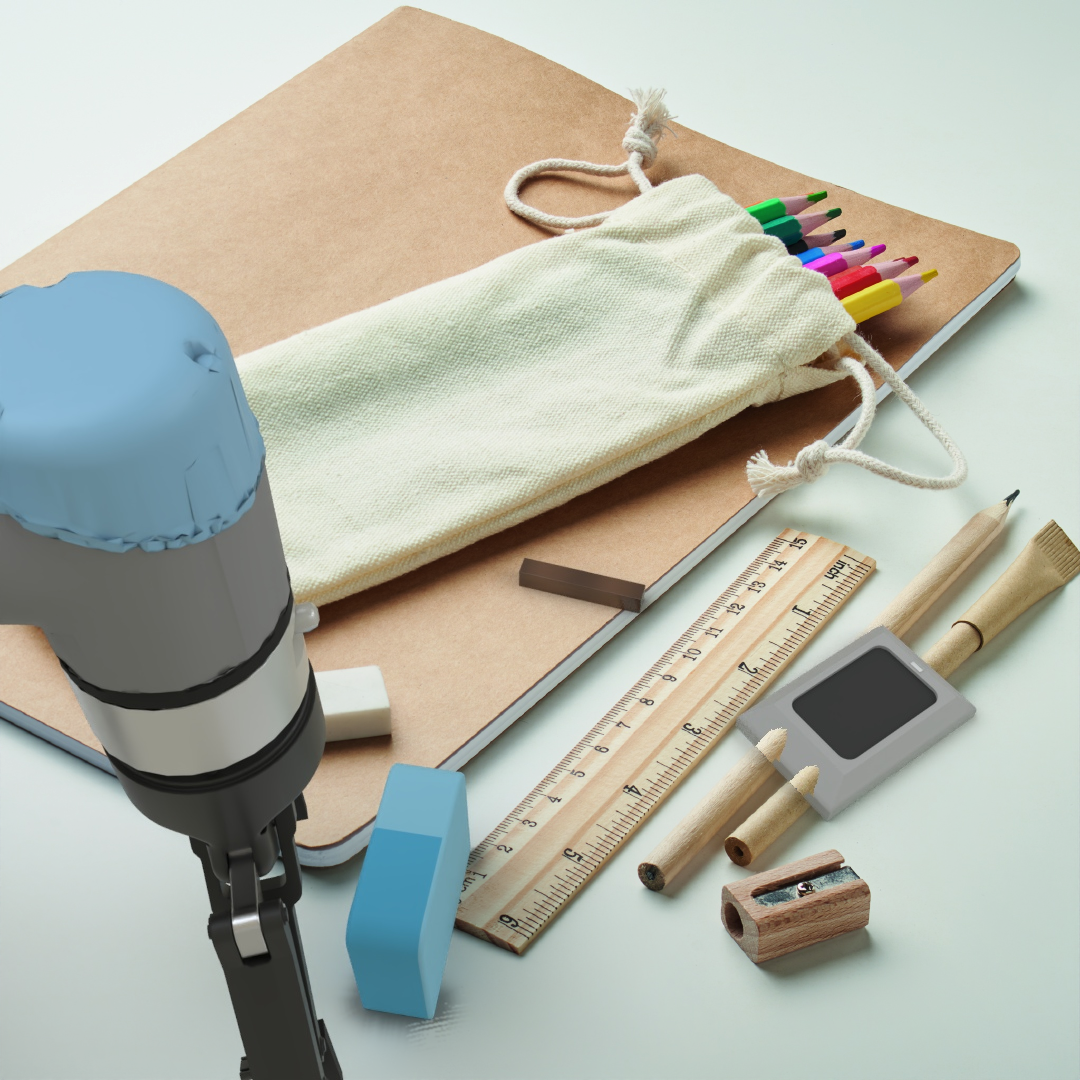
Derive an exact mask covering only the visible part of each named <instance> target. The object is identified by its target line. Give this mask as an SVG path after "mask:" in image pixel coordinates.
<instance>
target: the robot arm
mask: <svg viewBox="0 0 1080 1080" xmlns="http://www.w3.org/2000/svg"><path fill="white" fill-rule="evenodd" d="M235 361H236V360H235V359H234V356H233V352H232V349H231V347H230V344H229V341H228V339H227V337H226V335H225V333H224V332H223V330H222V328H221V326H220V325H219V322H218V321H217V319H216V318H215V317H214V316H213V315H212V313H211V312H210V311H208V310H207V309H206V308H205V307H204V306H203V305H202V304H201V303H200V302H198V301H197V300H196V299H195V298H193V296H191V295H189V293H186V292H185V291H183V290H182V289H180V288H179V287H176V286H174V285H172V284H169V283H167V282H165V281H163V280H160V279H157V278H154V277H151V276H147V275H144V274H140V273H133V272H128V271H121V270H98V269H97V270H83V271H82V270H79V271H73V272H69V273H67V274H66V275H65V276H64V277H63V278H62V279H61V280H59V281H58V282H57V283H54V284H51V285H47V286H44V287H41V286H35V285H30V284H21V285H19V286H16V287H13V288H10V289H8V290H6V291H4V292H2V293H0V626H34V627H36V628H37V627H38V628H40V629H41V630H42V632H43V634H44V636H45V638H46V640H47V642H48V643H49V645H50V647H51V649H52V651H53V653H54V655H55V656H56V657H57V659H58V662H59V665H60V667H61V669H62V671H63V673H64V675H65V677H66V680H67V682H68V684H69V686H70V688H71V690H72V693H73V694H74V696H75V698H76V701H77V703H78V704H79V706H80V709H81V711H82V713H83V716H84V717H85V719H86V721H87V723H88V725H89V727H90V730H91V731H92V734H93V735H94V736H95V737H96V739H97V740H98V742H99V743H100V744H101V746H102V749H103V751H104V753H105V755H106V757H107V759H108V762H109V763H110V765H111V767H112V769H113V771H114V773H115V775H116V777H117V779H118V781H119V782H120V785H121V787H122V789H123V791H124V793H125V795H126V797H127V798H128V800H129V801H130V803H131V804H132V805H133V806H134V807H135V808H136V809H137V810H138V812H139V813H141V814H142V816H145V818H146V819H148V820H150V821H151V822H152V823H154V824H156V825H158V826H160V827H162V828H164V829H167V830H169V831H172V832H175V833H178V834H181V835H184V836H187V837H188V839H189V845H190V848H191V851H192V853H193V854H194V855H195V856H196V857H197V858H199V860H200V864H201V867H202V871H203V876H204V881H205V885H206V891H207V896H208V900H209V904H210V910H211V913H210V914H209V916H208V919H207V922H208V924H207V925H206V930H207V931H206V932H207V936H208V940H209V941H210V940H211V942H212V946H213V949H214V951H215V953H216V956H217V958H218V961H219V964H220V967H221V968H222V971H223V974H224V979H225V983H226V986H227V990H228V993H229V998H230V1001H231V1004H232V1008H233V1013H234V1015H235V1020H236V1024H237V1027H238V1031H239V1035H240V1038H241V1039H240V1040H241V1042H242V1046H243V1047H242V1048H243V1051H244V1054H245V1055H244V1056H241V1057H240V1063H239V1071H240V1072H239V1079H240V1080H344V1074H343V1070H342V1067H341V1064H340V1061H339V1059H338V1056H337V1053H336V1051H335V1048H334V1045H333V1042H332V1040H331V1039H332V1038H331V1036H330V1033H329V1031H328V1029H327V1025H326V1023H325V1020H324V1018H319V1019H318V1016H317V1015H318V1014H317V1011H316V1005H315V1000H314V996H313V990H312V985H311V979H310V975H309V971H308V964H307V961H306V960H307V959H306V956H305V950H304V945H303V942H302V941H303V940H302V935H301V930H300V926H299V920H298V916H297V910H296V906H295V905H296V904H297V903H298V902H299V901H300V900H301V899H302V896H303V873H302V868H301V863H300V858H299V853H298V848H297V843H296V838H295V834H296V832H297V823H298V822H301V821H304V820H309V814H308V806H307V803H306V799H305V795H304V790H305V789H306V788H307V787H308V785H309V783H310V782H311V781H312V779H313V778H314V776H315V774H316V772H317V771H318V770H317V769H318V768H319V766H320V763H321V761H322V758H323V755H324V751H325V746H326V738H327V737H326V736H327V725H326V717H325V713H324V710H323V705H322V701H321V697H320V692H319V688H318V684H317V680H316V676H315V672H314V669H313V668H314V667H313V665H312V663H311V662H312V661H311V660H310V658H309V652H308V648H307V645H306V640H305V636H304V633H310V632H311V631H313V630H314V629H316V628H318V626H319V623H320V613H319V609H318V607H317V606H316V605H315V603H313V602H311V601H304V602H300V603H297V604H296V601H295V600H296V599H295V595H294V591H293V588H292V583H291V581H292V580H291V575H290V570H289V567H288V565H287V560H286V556H285V551H284V547H283V542H282V538H281V537H282V536H281V532H280V528H279V524H278V518H277V514H276V508H275V504H274V500H273V499H274V498H273V494H272V489H271V484H270V481H269V476H268V470H267V466H266V465H267V464H266V458H267V448H266V446H265V442H264V437H263V435H262V433H261V432H260V423H259V421H258V419H257V417H256V415H255V414H254V413H253V412H254V411H252V408H251V407H250V404H249V402H248V398H247V396H246V393H245V392H246V391H245V389H244V385H243V384H242V379H241V377H240V374H239V370H238V368H237V365H236V362H235ZM280 854H281V860H282V864H283V870H284V873H282V874H279V875H276V876H272V877H271V876H270V877H267V878H263V877H265V876H267V875H268V874H269V873H270V872H271V871H273V868H274V866H275V865H276V862H277V861H278V859H279V857H280ZM261 878H263V879H261Z"/></svg>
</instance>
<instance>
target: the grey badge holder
mask: <svg viewBox="0 0 1080 1080" xmlns="http://www.w3.org/2000/svg"><path fill="white" fill-rule="evenodd" d="M881 625H882V626H881ZM881 625H879V626H880V627H879V626H877V627H874V628H873V629H871V630H869V631H870V632H869V631H868V632H869V633H868V632H867V634H866V633H865V634H863V635H861V636H860V637H859V638H857V639H855V640H854V641H852V642H851V643H849V644H848V645H846V646H844V647H843V648H841V649H840V650H838V651H837V652H835V653H833V654H832V655H830V656H829V657H828V658H826V659H825V660H823V661H821V662H820V663H819V664H817V665H815V666H813V667H812V668H810V669H809V670H807V671H806V672H804V673H803V674H801V675H800V676H798V677H796V678H795V679H793V680H792V681H790V682H789V683H788V684H785V685H784V686H783V687H781V688H780V689H778V690H776V691H775V692H773V693H772V694H770V695H768V696H767V697H765V698H764V699H763V700H761V701H759V702H758V703H756V704H754V705H753V706H752V707H750V708H748V709H747V710H745V711H744V712H742V713H741V714H740V715H737V717H736V720H735V725H734V726H735V727H736V728H737V729H738V730H739V731H740V733H742V734H743V736H744V737H745V738H746V739H747V740H748V741H749V742H750V743H751V744H752V745H753V746H754V747H755V746H756V745H757V744H758V742H760V740H761V739H762V738H763V737H764V736H765V735H766V734H767V733H768V732H769V731H771V729H772V730H775V729H777V728H778V729H779V728H781V727H782V728H781V729H787V730H786V731H787V735H786V736H787V740H786V743H785V747H784V748H783V751H782V753H781V756H780V760H779V761H780V762H779V761H778V760H777V759H775V760H774V761H773V763H770V764H771V765H772V766H773V767H774V768H775V769H776V770H777V771H778V772H779V773H780V774H781V775H782V777H783V778H785V780H786V781H787V782H788V783H789V781H790V780H792V779H793V778H794V776H795V775H796V774H798V773H799V771H800V770H802V769H804V768H805V767H806V766H808V767H809V766H814V765H817V766H815V767H818V768H819V769H820V770H819V771H818V772H819V776H818V777H817V778H818V780H817V784H816V785H815V788H814V793H813V796H814V797H813V796H812V795H811V794H810V793H809V792H808V793H807V794H805V796H802V798H803V799H805V800H806V802H807V803H808V804H809V805H810V806H811V807H812V808H813V809H814V810H815V811H816V812H817V813H818V815H820V816H821V817H822V819H823V820H825V822H829V821H830V820H831V819H833V818H834V817H836V816H837V815H839V814H840V813H841V812H843V811H844V810H845V809H847V808H848V807H850V806H851V805H852V804H854V803H855V802H856V801H858V800H859V799H861V798H862V797H864V796H865V795H866V794H868V793H869V792H870V791H872V790H874V789H875V788H876V787H877V786H879V785H881V784H882V783H883V782H884V781H886V780H887V779H889V778H890V777H892V776H893V775H894V774H896V773H897V772H898V771H900V770H901V769H902V768H904V767H905V766H907V765H908V764H910V763H911V762H912V761H913V760H915V759H916V758H918V757H919V756H922V754H924V753H925V752H927V750H929V749H930V748H932V747H933V746H935V745H936V744H937V743H939V742H940V741H942V740H943V739H944V738H946V737H948V736H949V735H950V734H951V733H953V732H954V731H956V730H957V729H959V728H960V727H961V726H963V725H964V724H965V723H967V722H968V721H970V720H972V718H974V717H975V714H976V713H977V707H976V706H975V705H974V704H973V703H972V702H971V701H969V700H968V699H967V698H966V697H965V696H963V694H961V693H960V692H959V690H957V689H956V688H955V687H954V686H952V685H951V684H950V683H949V682H948V681H947V680H946V679H945V678H944V677H942V676H941V675H940V674H939V673H938V672H937V671H935V669H934V668H933V667H931V666H930V665H929V664H928V663H927V662H925V661H924V660H923V659H922V658H921V657H920V656H919V655H918V654H916V653H915V652H914V651H913V650H912V649H911V648H910V647H909V646H908V645H906V644H905V643H904V641H902V640H901V639H900V638H899V637H898V636H896V634H894V633H893V632H892V631H891V630H890V629H889V628H887V627H886V626H885V624H881Z"/></svg>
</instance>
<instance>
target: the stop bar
mask: <svg viewBox="0 0 1080 1080" xmlns="http://www.w3.org/2000/svg"><path fill="white" fill-rule="evenodd" d="M518 586H519V587H522V588H527V589H530V590H535V591H540V592H544V593H549V594H552V595H556V596H562V597H566V598H570V599H574V600H579V601H583V602H587V603H591V604H596V605H601V606H605V607H609V608H614V609H618V610H621V611H627V612H631V613H636V614H640V613H641V610H642V608H643V603H644V601H645V593H646V584H643V583H639V582H634V581H630V580H626V579H622V578H617V577H612V576H607V575H604V574H599V573H595V572H590V571H587V570H586V571H585V570H581V569H576V568H574V567H573V568H572V567H568V566H565V565H564V566H563V565H559V564H555V563H550V562H546V561H542V560H537V559H532V558H529V557H524V558H523V560H522V563H521V565H520V568H519V569H518Z"/></svg>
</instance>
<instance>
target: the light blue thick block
mask: <svg viewBox="0 0 1080 1080" xmlns="http://www.w3.org/2000/svg"><path fill="white" fill-rule="evenodd" d="M468 808H469V807H468V797H467V784H466V775H465V774H464V773H463V772H461V771H455V770H448V769H442V768H435V767H430V766H429V767H428V766H422V765H421V766H420V765H415V764H408V763H400V762H396V763H394V764H392V766H391V767H390V769H389V771H388V775H387V777H386V781H385V784H384V788H383V791H382V795H381V798H380V801H379V805H378V810H377V812H376V815H375V816H376V817H375V820H374V824H373V827H372V831H371V835H370V837H369V842H368V845H367V848H366V852H365V855H364V859H363V863H362V866H361V870H360V873H359V878H358V879H357V880H358V881H357V885H356V888H355V891H354V895H353V899H352V902H351V905H350V908H349V909H350V910H349V913H348V917H347V923H346V930H345V948H346V951H347V954H348V957H349V958H348V959H349V962H350V965H351V969H352V973H353V976H354V979H355V983H356V987H357V991H358V995H359V998H360V1002H361V1005H362V1007H363V1008H364V1009H366V1010H372V1011H377V1012H382V1013H390V1014H396V1015H402V1016H406V1017H412V1018H418V1019H424V1020H432V1019H433V1018H434V1017H435V1013H436V1008H437V1003H438V999H439V995H440V992H441V991H440V990H441V987H442V982H443V978H444V977H443V976H444V972H445V967H446V962H447V960H448V959H447V958H448V955H449V949H450V944H451V942H452V941H451V940H452V936H453V932H454V926H455V922H456V917H457V913H458V908H459V902H460V900H461V899H460V898H461V894H462V891H463V886H464V881H465V877H466V872H467V867H468V862H469V857H470V853H471V836H470V835H471V834H470V823H469V821H470V820H469V810H468Z"/></svg>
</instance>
